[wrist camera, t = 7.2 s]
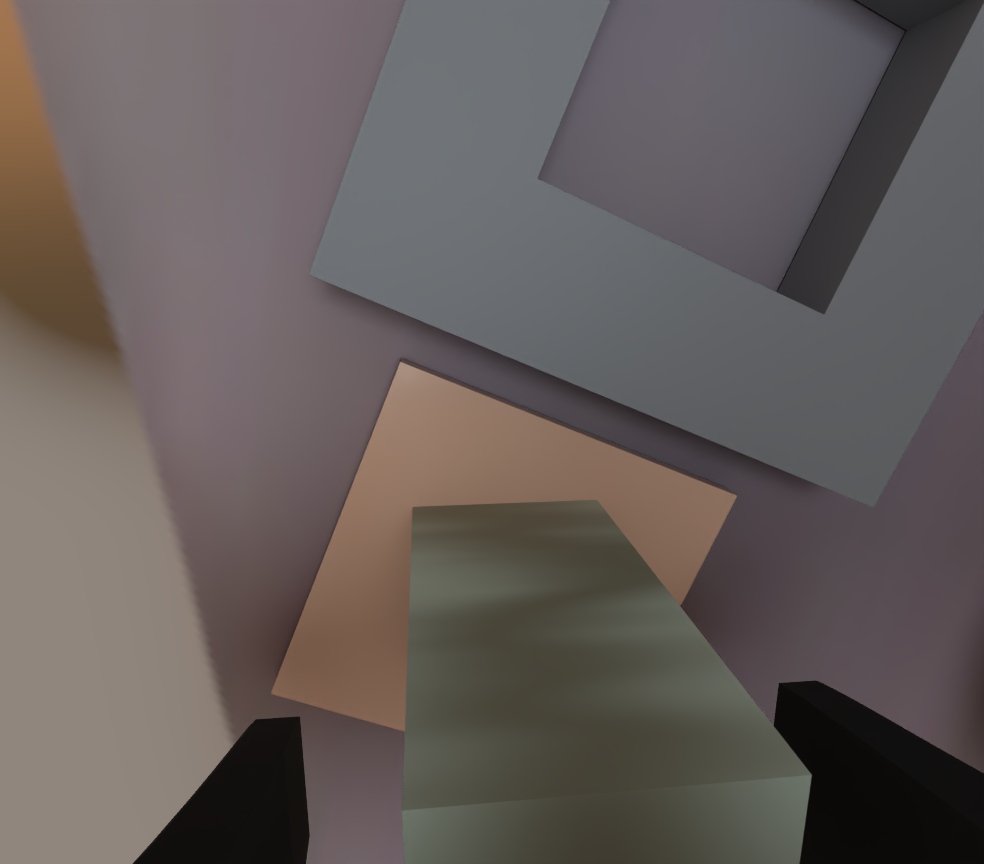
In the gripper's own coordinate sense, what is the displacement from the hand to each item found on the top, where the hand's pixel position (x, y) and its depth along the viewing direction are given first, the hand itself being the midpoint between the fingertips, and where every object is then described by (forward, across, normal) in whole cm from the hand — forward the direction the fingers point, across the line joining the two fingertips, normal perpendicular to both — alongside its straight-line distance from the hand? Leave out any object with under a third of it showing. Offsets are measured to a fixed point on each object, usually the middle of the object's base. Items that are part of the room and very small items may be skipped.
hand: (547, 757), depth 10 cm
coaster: (+6, 0, 0) cm, 6 cm away
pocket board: (+6, -4, -10) cm, 12 cm away
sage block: (+5, 0, 0) cm, 5 cm away
